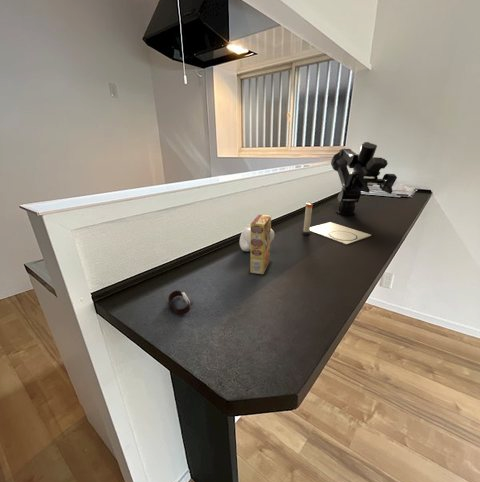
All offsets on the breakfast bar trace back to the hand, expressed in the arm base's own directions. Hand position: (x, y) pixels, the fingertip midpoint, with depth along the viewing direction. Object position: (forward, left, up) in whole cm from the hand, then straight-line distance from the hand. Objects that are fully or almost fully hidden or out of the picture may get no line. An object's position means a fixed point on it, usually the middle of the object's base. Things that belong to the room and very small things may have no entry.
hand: (380, 192), depth 100 cm
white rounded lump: (-13, -50, -17) cm, 55 cm away
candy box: (-2, -56, -17) cm, 59 cm away
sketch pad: (-8, -11, -16) cm, 21 cm away
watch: (+3, -84, -17) cm, 86 cm away
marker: (-14, -23, -16) cm, 32 cm away
